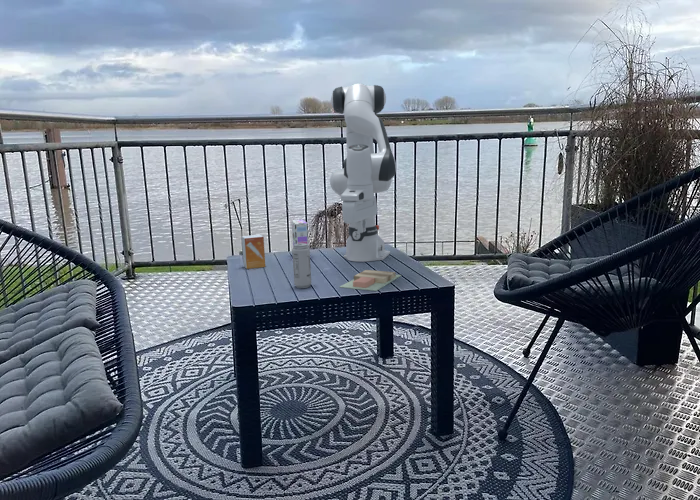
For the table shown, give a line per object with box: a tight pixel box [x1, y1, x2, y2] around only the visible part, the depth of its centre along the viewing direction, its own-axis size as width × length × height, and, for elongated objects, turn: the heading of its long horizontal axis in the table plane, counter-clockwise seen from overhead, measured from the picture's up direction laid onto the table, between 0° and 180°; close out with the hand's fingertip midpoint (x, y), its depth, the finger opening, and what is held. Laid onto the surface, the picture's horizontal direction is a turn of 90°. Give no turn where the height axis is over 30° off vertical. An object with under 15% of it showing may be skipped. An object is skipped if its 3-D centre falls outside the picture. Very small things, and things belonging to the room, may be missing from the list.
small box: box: [241, 234, 266, 270], centre depth 216 cm, size 8×6×13 cm
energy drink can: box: [291, 243, 312, 289], centre depth 181 cm, size 6×6×15 cm
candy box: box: [290, 219, 310, 248], centre depth 231 cm, size 14×6×16 cm, turn 12°
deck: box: [353, 269, 397, 283], centre depth 188 cm, size 10×12×2 cm
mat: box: [339, 274, 402, 292], centre depth 186 cm, size 22×14×1 cm, turn 152°
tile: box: [353, 277, 375, 288], centre depth 180 cm, size 7×5×2 cm
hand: (361, 232), depth 182 cm, fingers closed
